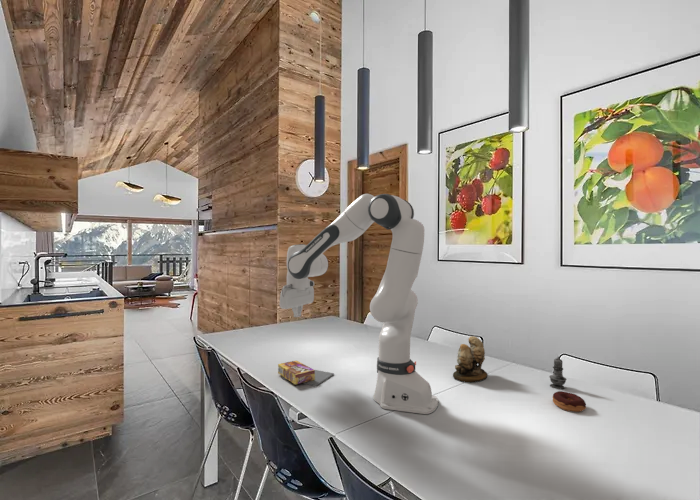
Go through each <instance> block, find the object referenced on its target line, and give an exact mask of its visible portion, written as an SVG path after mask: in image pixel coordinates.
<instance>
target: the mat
mask: <svg viewBox="0 0 700 500" xmlns="http://www.w3.org/2000/svg"><path fill="white" fill-rule="evenodd" d="M314 370H315V380H312V381H308V382H304V383H303V385H304V384H305V385H309V386H314V387H318V386H319V385H321V384H322V383H323V382H325V381H327V380H328V379H330V378H332V377H333V376H334V375H335V373H333V372H329V371H324V370H319V369H314ZM281 377H282V380H286V381H288V380H287V379H286V378H284V377H283V376H281Z"/></svg>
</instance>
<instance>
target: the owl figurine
mask: <svg viewBox="0 0 700 500" xmlns="http://www.w3.org/2000/svg"><path fill="white" fill-rule="evenodd" d="M468 344H469V345H467V344H465V343H461V344H460V345H459V348H458V351H457V357H456V363H457V364H456V365H455V366H454V369H455V371H454V372H453V374H452V377H453V379H454V380H456V381H458V382H461V383H468V384H470V383H471V384H472V383H480V382H483V381H485V380H486V379H487V378H488V373H487V371H485V369H484V368H482V365H483V363H484V361H485V360H486V358H485V355H486V352H485V351H486V350H485V347H484V343H483V341H481V340H480V339H479V338H478V337H476V336H473V335H471V336H469V338H468Z"/></svg>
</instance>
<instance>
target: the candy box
mask: <svg viewBox="0 0 700 500" xmlns="http://www.w3.org/2000/svg"><path fill="white" fill-rule="evenodd" d="M315 370H316V369H314V368H312V367H309V366H308V365H306V364H304V363H302V362H300V361H298V360H292V361H287V362H286V361H285V362H281V363H278V364H277V374H278V375H280V376H281V377H284V378H286V379H287V380H286V381H290V382H291V383H292V384H293V385H300V384H304V382H308V381H312V380H315Z"/></svg>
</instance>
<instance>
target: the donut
mask: <svg viewBox="0 0 700 500" xmlns="http://www.w3.org/2000/svg"><path fill="white" fill-rule="evenodd" d="M552 402H553V403H554V405H555V406H557V407H558V408H559V409H561V410H563V411H567V412H571V413H573V412H574V413H580V412H581V413H582V412H583V411H585V410H586V409H587V404H586V401H585V399H584V398H583V397H580V396H579V395H577V394H575V393H571V392H567V391H563V390H562V391H561V390H559V391H555V392H554V393H553V394H552Z"/></svg>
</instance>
